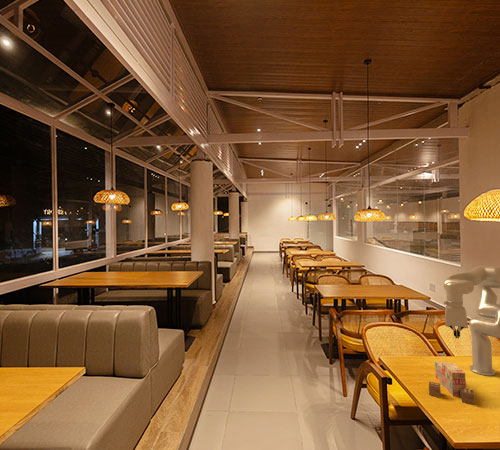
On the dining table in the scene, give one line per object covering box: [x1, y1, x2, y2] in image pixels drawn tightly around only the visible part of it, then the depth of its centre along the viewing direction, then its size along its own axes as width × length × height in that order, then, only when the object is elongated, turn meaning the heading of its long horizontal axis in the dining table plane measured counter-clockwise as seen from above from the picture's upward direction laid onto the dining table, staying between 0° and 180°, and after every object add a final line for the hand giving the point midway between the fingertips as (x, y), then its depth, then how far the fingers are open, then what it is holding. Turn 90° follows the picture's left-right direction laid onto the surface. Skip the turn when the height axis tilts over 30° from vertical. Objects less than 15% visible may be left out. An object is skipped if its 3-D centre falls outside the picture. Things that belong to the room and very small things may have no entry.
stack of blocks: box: [434, 361, 467, 397], centre depth 172 cm, size 21×6×12 cm, turn 171°
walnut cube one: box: [428, 381, 441, 398], centre depth 164 cm, size 5×5×5 cm
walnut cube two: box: [460, 388, 475, 405], centre depth 157 cm, size 5×5×5 cm
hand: (457, 337), depth 175 cm, fingers closed
